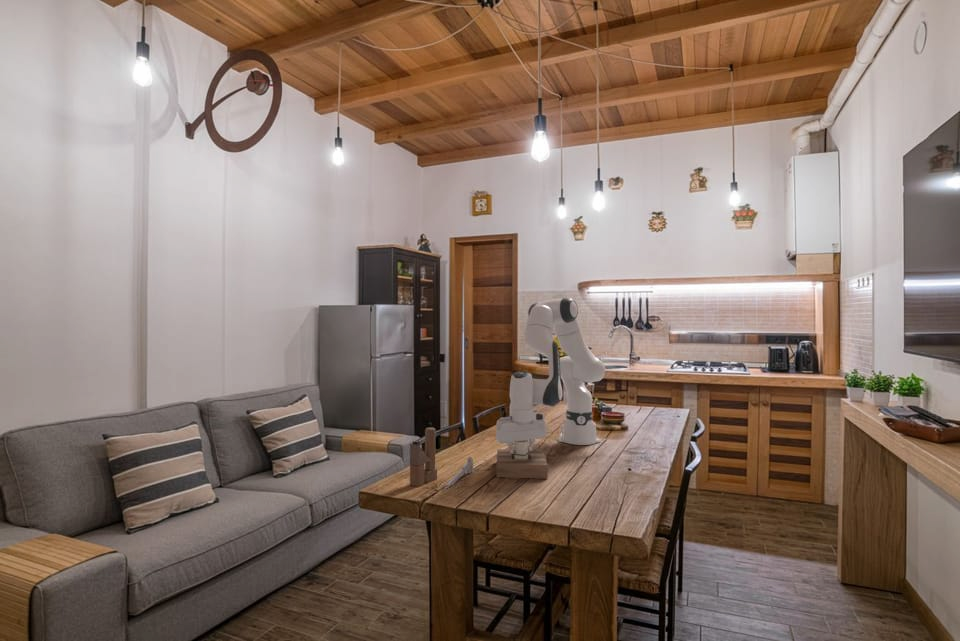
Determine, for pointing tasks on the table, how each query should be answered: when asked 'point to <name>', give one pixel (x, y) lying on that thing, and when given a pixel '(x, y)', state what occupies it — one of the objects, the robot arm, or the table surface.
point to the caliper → (462, 472)
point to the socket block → (522, 465)
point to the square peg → (521, 449)
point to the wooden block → (423, 460)
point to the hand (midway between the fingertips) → (521, 452)
